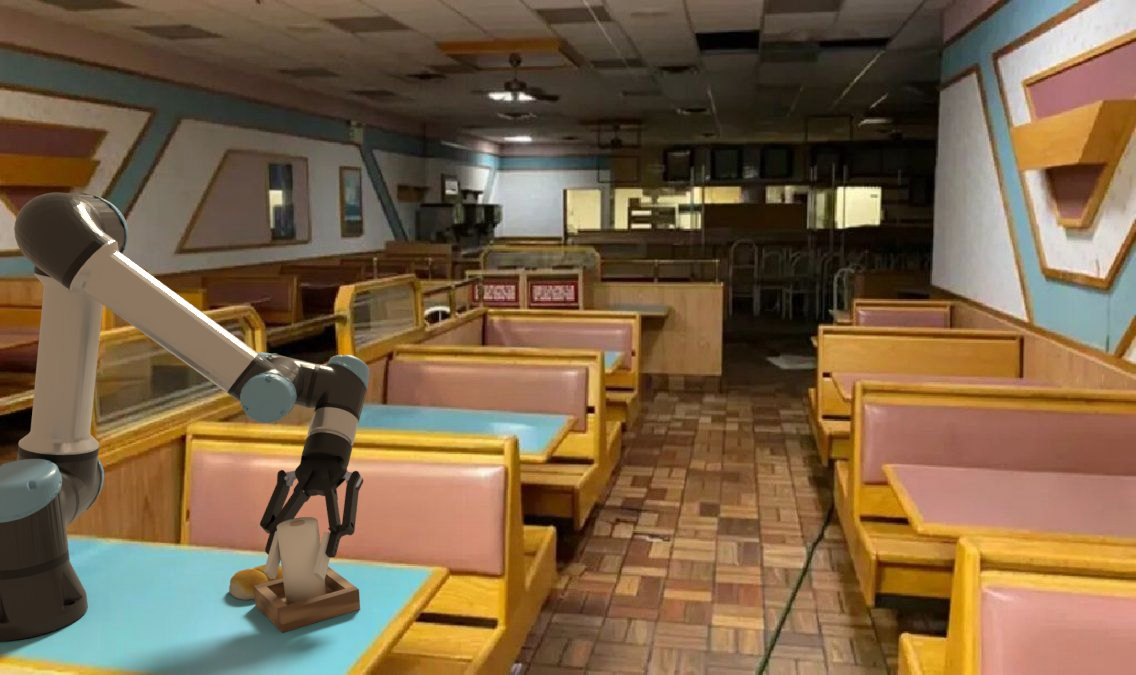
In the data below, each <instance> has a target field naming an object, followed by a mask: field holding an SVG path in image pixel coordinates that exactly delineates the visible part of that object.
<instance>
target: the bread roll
mask: <svg viewBox="0 0 1136 675" xmlns="http://www.w3.org/2000/svg"><path fill="white" fill-rule="evenodd" d="M265 566H266V564H263V565H258V566H255V567H253V568H246V569H242V570H239V571H236V572H235V573H234V574H233V575H232V576H231V577H230V580H229V588H228V592H229V594H231V595H232V596H233V597H234V598H236V599H238V600H241V599H242V600H243V601H249V599H251V600H255V597H254V586H255V585H259V584H263V583H267V582H270V581H274V580H278V579H282V578H283V574H282V566H281V564H279V568H278V571H277V575H276V579H270V578H269V577H268V576H267V575H266V574H265V573H264V569H265Z"/></svg>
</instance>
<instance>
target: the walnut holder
mask: <svg viewBox="0 0 1136 675" xmlns="http://www.w3.org/2000/svg"><path fill="white" fill-rule="evenodd" d="M325 587H326V594H325V595H322V596H318V597H315V598H311V599H308V600H304V601H301V602H297V603H294V604H290V605H287V604H286V598H285V590H284V582H283V578H282V579H278V580H274V581H270V582H267V583H263V584H259V585H255V586H254V597H255V599H254V605H255V608H257V609H258V610H259V611H260V612H261V613H262V614H264V616H265V617H266V618H267V619H268V620H269V621H270V622H271V623H272V624H273V625H274V626H275V627H276V628H278V630H279V631H280V632H282V633H286V632H289V631H293V630H296V629H298V628H299V629H300V628H302V627H305V626H306V627H307V626H309V625H312V624H315V623H319V622H322V621H325V620H328V619H332V618H336V617H338V616H342V615H345V614H349V613H352V612H356V611H359V610H361V600H360V589H359V587H357V586H355V585H354V584H353V583H351V581H348V580H347V579H346V578H344V576H342V575H340V574H339V573H338V572H337V571H335V570H334V569H333V568H331V567H330V566H328V568H327V572H326V576H325Z"/></svg>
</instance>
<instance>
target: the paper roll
mask: <svg viewBox="0 0 1136 675" xmlns="http://www.w3.org/2000/svg"><path fill="white" fill-rule="evenodd" d="M277 534H278V542H279V550H280V558H281V561H280V566H281V567H282V574H283V582H284V590H285V598H286V604H287V605H290V604H294V603H297V602H301V601H304V600H308V599H311V598H315V597H318V596H322V595H325V594H326V587H325V580H319V579H318V578H317V577H316V576H315V574H314V569H315V565H316V561H317V557H318V553H319V549H320V545H321V537H320V530H319V520H318V518H316V517H311V516H302V517H295V518H294V519H290V520H287V521H284V522H282V523H280V524H278V525H277Z"/></svg>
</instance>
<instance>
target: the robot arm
mask: <svg viewBox="0 0 1136 675" xmlns="http://www.w3.org/2000/svg"><path fill="white" fill-rule="evenodd" d="M13 230H14V239H15V242H16V244H17V247H18V248H19V250H20V252H21V253H22V254H23V256H24V257H25V258H26V259H27V260H28V261H29V262H30V263H31V264H33V265H34V269H33V273H34V274H33V275H34V276H35V277H36V278H37V280H38V281H39V282H41V284H42V285H43V295H42V306H41V314H40V315H41V316H40V326H39V327H40V328H39V336H38V337H39V338H38V347H37V348H38V349H37V359H36V368H35V369H36V370H35V381H34V390H33V391H34V392H33V393H34V394H33V402H32V412H31V413H32V415H31V423H30V431H29V433H28V434H26V435H25V436H24V437H22V438H20V440H19V441H18V445H17V448H18V449H17V457H16V460H14V461H9V462H5V463H3V464H1V465H0V642H2V641H16V640H22V639H28V638H33V637H36V636H41V635H44V634H48V633H50V632H54V631H57V630H59V629H61V628H64V627H66V626H68V625H71V624H73V623H74V622H75V621H77V620H79V619H80V618H81V617H82V616H84V614H85V613H86V612H87V611H88V609H89V608H88V607H89V604H88V596H87V592H86V589H85V587H84V585H83V584H82V582H81V580H80V578H79V576H78V574H77V572H76V570H75V569H74V567H73V564H72V562H71V560H70V552H69V543H68V542H69V540H68V533H67V527H68V526H69V525H70V524H71V523H73V522H74V521H76V519H78V518H79V517H80V516H81V515H82V514H85V512H86V511H88V510H89V509H90V508H91V507H92V506H93V504H95V502H96V501H97V499H98V497H99V495H100V494H101V492H102V489H103V487H104V481H105V470H104V467H103V464H102V462H101V460H100V459H99V449H100V442H99V440H97V439H96V438H95V437H94V436H93V435H92V434H91V428H92V427H91V426H92V419H93V409H94V408H93V407H94V398H95V388H96V379H97V378H96V377H97V368H98V358H99V348H100V339H101V338H100V337H101V327H102V317H103V307H105V308H107V309H109V311H111V312H112V313H114V314H116V315H117V316H118V317H119V318H121V319H122V320H124V321H125V322H126V323H128V324H130V325H131V326H132V327H134V328H135V329H137V331H139V332H141V333H142V334H144V335H145V336H146V337H148V338H149V339H151V340H152V341H154V342H155V343H156V344H158V345H159V346H160V347H162V348H164V349H165V350H166V351H167V352H168V353H170V354H171V355H174V356H175V358H177V359H178V360H181V361H182V362H183V363H185V364H186V365H187V366H188V367H190V368H192V369H193V370H195V371H196V372H197V373H198V374H200V375H201V376H202V377H203V378H206V379H207V380H208V381H210V382H211V383H212V384H214V385H215V386H217V387H218V388H219V389H221V390H222V391H224V392H225V393H227V394H228V395H230V396H231V398H233V399H235V400H236V401H237V402H239V403H240V406H241V408H242V410H243V412H244V414H245V415H246V416H247V418H250V419H251V420H252V421H254V422H257V423H260V424H273V423H276V422H278V421H281V419H282V418H284V417H285V416H286V415H289V414H290V413H291V411H293V409H294V407H295V406H299V407H303V408H304V407H305V408H309V409H313V415H312V418H311V422H310V425H309V428H308V431H307V437H306V438H305V442H304V446H303V447H302V448H303V449H302V453H301V457H300V463H299V465H297V467H296V468H295V470H292V471H285V470H283V469H280V470H278V472H277V478H276V485H275V487H274V489H273V490H272V491H273V492H272V494H271V496H270V498H269V500H268V504H267V505H266V508H265V510H264V513H263V516H262V517H261V519H260V522H259V526H260V527H261V529H263V531H265V533H266V534H268V538H267V542H266V546H265V550H264V551H265V553H266V554H267V555H268V556H267V559H266V562H265V565H266V566H265V569H264V573H265V574H266V575H267V576H268V577H269V578H270V579H276V575H277V571H278V568H279V565H281V558H280V550H279V542H278V534H277V525H278V524H280V523H282V522H284V521H287V520H290V519H294V518H296V516H297V514H298V513H299V512H300V510H301V508H302V507H303V506H304V504H305V503H307V502H308V501H309V500H310V498H311V497H315V496H321V497H324V500H325V506H326V507H325V508H326V514H327V515H326V516H327V520H328V521H327V522H328V527H327V529H328V531H329V532H328V531H324V532H323V534H322V539H321V540H320V544H321V545H320V549H319V553H318V557H317V561H316V565H315V569H314V574H315V576H316V577H317V578H318V579H319V580H325V576H326V572H327V568H328V567H329V563H330V559H331V558H335V557H336V556H337V553H338V549H339V545H340V542H341V539H342V537H345V536H352V535H354V534H355V529H356V521H357V520H356V518H357V512H358V501H359V492H360V490H361V488H362V485H363V484H364V479H363V477H362V475H361V474H360V472H359V471H358V470H353V471H352V472H351V471H348V466H349V465H350V464H349V463H350V460H351V456H352V451H353V446H354V444H355V439H356V435H357V430H358V426H359V423H360V419H361V416H362V412H363V409H364V408H363V407H364V404H365V400H366V396H367V393H368V387H369V381H370V376H371V373H370V368H369V366H368V365H367V364H366V363H365V361H363V360H362V359H360V358H359V357H356V356H354V355H350V354H344V355H340V354H337V355H334V356H332V357H331V358H330V359H329V360H328V362H327V363H326V364H321V363H320V364H319V363H314V362H310V361H306V360H301V359H298V358H293V357H290V356H289V357H287V356H284V355H281V354H278V353H275V352H274V353H269V352H263V351H256V350H254V349H253V348H252V347H250V346H249V345H248V344H247V343H245V342H244V341H242V340H241V339H240V338H238V337H237V336H235V335H234V334H232V333H231V332H230V331H228V330H227V329H226V328H224V327H223V326H222V325H220V324H219V323H217V322H216V321H215V320H213V319H212V318H210V317H209V315H206V314H205V313H204V312H203V311H201V310H200V309H198V308H197V307H196V306H194V305H193V304H191V303H190V302H189V301H187V300H186V299H184V298H183V297H182V296H180V295H179V294H178V293H177V292H175V291H173V290H172V289H171V288H170V287H168V286H167V285H166V284H164V283H162V282H161V281H160V280H159V279H157V278H156V277H155V276H153V275H152V274H150V273H149V272H147V271H146V270H145V269H144V268H142V267H141V266H139V265H138V264H137V263H135V262H134V261H132V259H129V258H128V256H125V254H124V251H125V250H126V248H127V246H128V243H129V235H130V234H129V233H130V232H129V227H128V222H127V220H126V219H125V216H124V215H123V214H122V212H121V210H120V209H119V208H118V207H116V205H114V204H113V203H112V202H110V201H108V200H107V199H105V198H103V197H100V196H98V195H93V194H89V193H88V192H87V193H84V192H83V193H82V192H67V193H66V192H48V193H44V194H43V193H42V194H40V195H38V196H35V197H34V198H32V199H30V200H29V201H28V202H26V203H25V204H24V205H23V206H22V207H21V209H20V210H19V212H18V214H17V215H16V219H15V221H14V228H13ZM295 480H297V483H296V485H295V487H294V488H293V492H292V494H291V495H290V497H289V498H288V495H289V493H290V490H291V487H292V486H294V481H295ZM344 482H345V483H346V487H345V496H344V504H343V512H342V513H343V514H342V521H341V517H340V516H341V515H340V510H339V509H340V508H339V502H338V500H339V497H338V490H337V489H338V488H340V486H341V485H342V484H343V483H344ZM286 500H287V501H286Z"/></svg>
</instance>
